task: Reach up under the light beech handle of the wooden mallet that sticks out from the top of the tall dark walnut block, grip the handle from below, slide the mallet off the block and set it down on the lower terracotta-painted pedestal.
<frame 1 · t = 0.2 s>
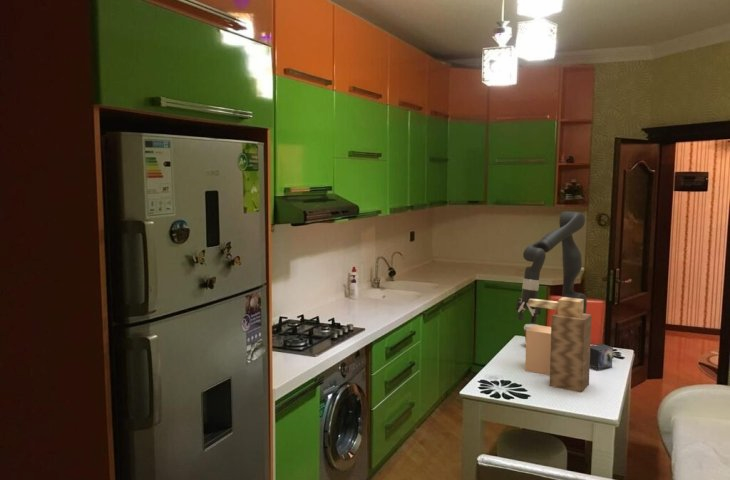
hand: (526, 321, 278), 23 cm above the table, tool pointing down, fingers open, 8 cm apart
pedestal: (543, 369, 278), on the table
disposable coffee cup: (532, 347, 314), on the table
walnut block: (569, 385, 257), on the table
mallet: (560, 313, 257), point 32 cm above the table, touching walnut block
small box: (599, 368, 281), on the table
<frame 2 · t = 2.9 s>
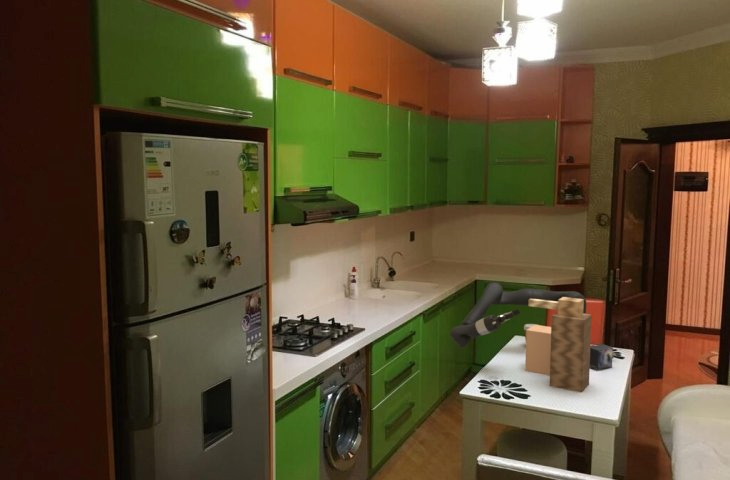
hand: (516, 312, 268), 30 cm above the table, tool pointing upward, fingers open, 8 cm apart
nothing on the table moved.
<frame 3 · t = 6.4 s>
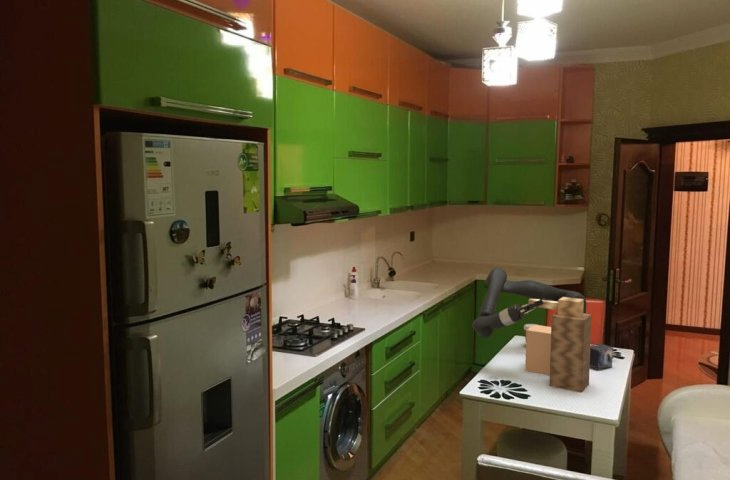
hand: (543, 300, 260), 37 cm above the table, tool pointing upward, fingers closed on mallet, 3 cm apart
mallet: (560, 313, 257), point 32 cm above the table, touching gripper, walnut block
everything else where it was.
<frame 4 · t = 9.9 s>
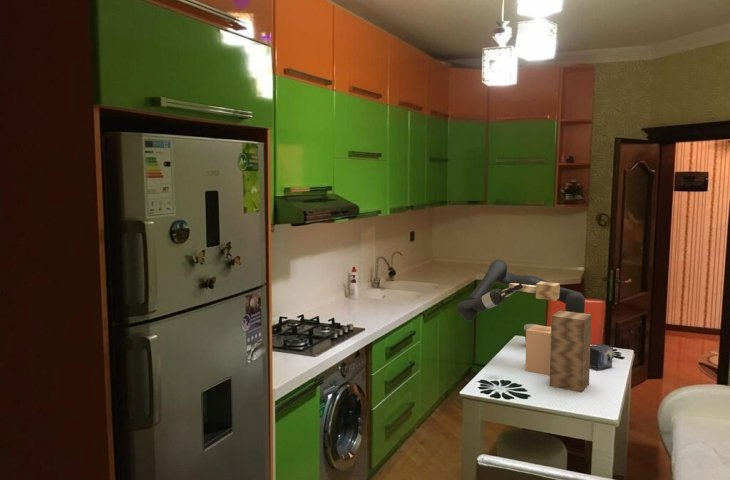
hand: (523, 284, 279), 41 cm above the table, tool pointing upward, fingers closed on mallet, 3 cm apart
mallet: (538, 296, 275), point 36 cm above the table, touching gripper
everything else where it was.
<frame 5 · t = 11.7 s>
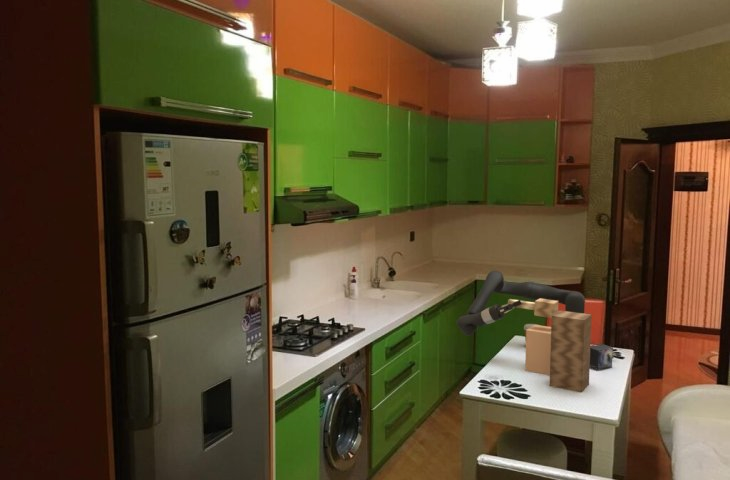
hand: (521, 301, 281), 32 cm above the table, tool pointing upward, fingers closed on mallet, 3 cm apart
mallet: (536, 313, 277), point 27 cm above the table, touching gripper
everything else where it was.
when the fingers open (26 cm above the table, at t = 13.2 s): mallet stays where it is, resting on pedestal.
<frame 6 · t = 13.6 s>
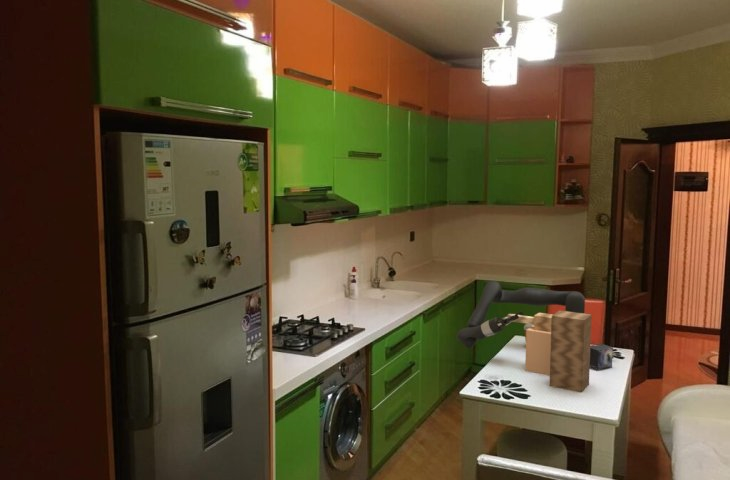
hand: (520, 314, 282), 26 cm above the table, tool pointing upward, fingers open, 6 cm apart
mallet: (536, 328, 278), point 20 cm above the table, touching pedestal
everything else where it was.
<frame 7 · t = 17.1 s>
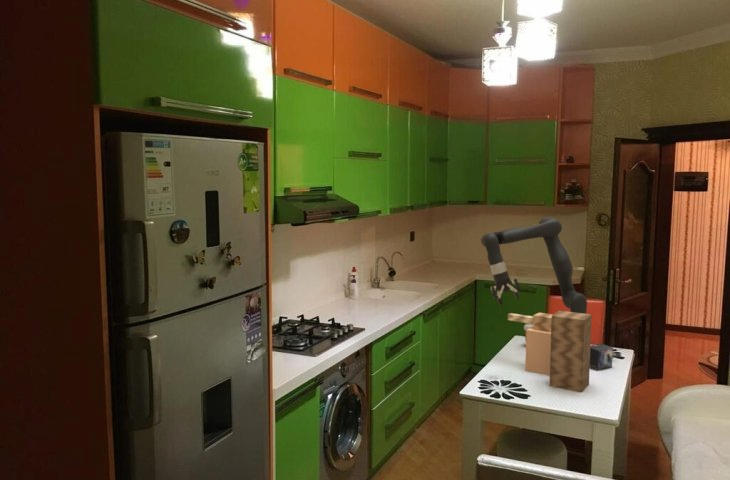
hand: (509, 302, 289), 30 cm above the table, tool tilted 20°, fingers open, 8 cm apart
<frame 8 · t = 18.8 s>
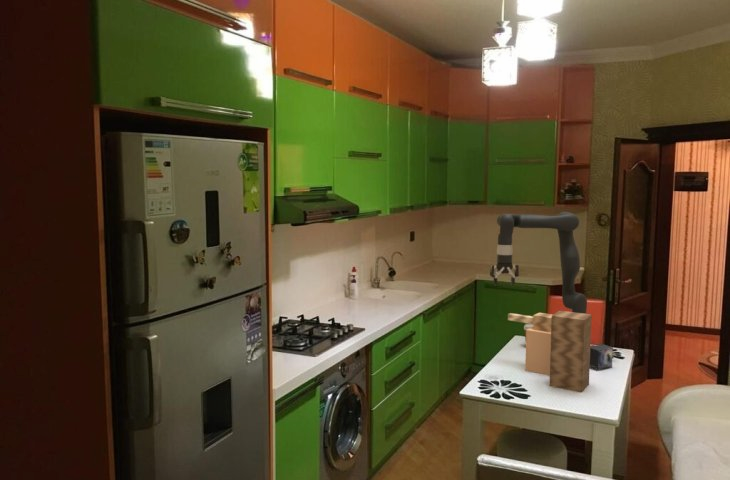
hand: (504, 285, 292), 38 cm above the table, tool pointing down, fingers open, 8 cm apart
nothing on the table moved.
at the end: mallet inside the target area on the pedestal (0.5 cm from its centre), point 20.0 cm above the pedestal's base; mallet tilted 0°; the gripper is holding nothing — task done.
